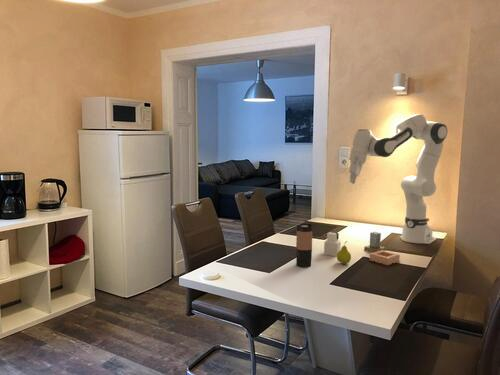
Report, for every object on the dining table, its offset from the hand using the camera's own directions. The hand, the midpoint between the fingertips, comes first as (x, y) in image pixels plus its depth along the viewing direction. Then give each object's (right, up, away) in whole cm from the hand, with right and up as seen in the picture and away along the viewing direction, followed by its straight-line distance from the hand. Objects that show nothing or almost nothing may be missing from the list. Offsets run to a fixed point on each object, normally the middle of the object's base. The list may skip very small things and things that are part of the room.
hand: (352, 182), depth 221 cm
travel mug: (-30, -41, -23) cm, 55 cm away
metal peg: (+13, -36, +3) cm, 38 cm away
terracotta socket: (+13, -40, -15) cm, 45 cm away
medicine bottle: (-12, -39, -4) cm, 40 cm away
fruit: (-9, -41, -20) cm, 46 cm away
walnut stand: (+13, -38, +3) cm, 40 cm away
